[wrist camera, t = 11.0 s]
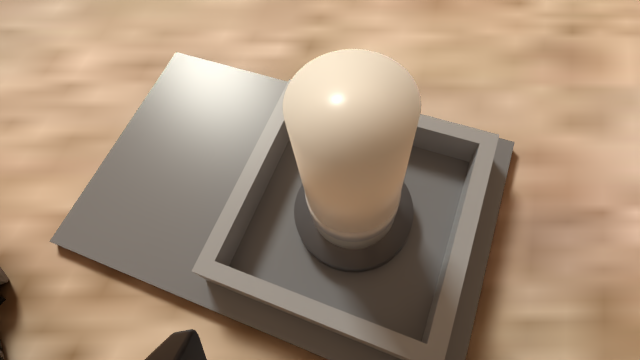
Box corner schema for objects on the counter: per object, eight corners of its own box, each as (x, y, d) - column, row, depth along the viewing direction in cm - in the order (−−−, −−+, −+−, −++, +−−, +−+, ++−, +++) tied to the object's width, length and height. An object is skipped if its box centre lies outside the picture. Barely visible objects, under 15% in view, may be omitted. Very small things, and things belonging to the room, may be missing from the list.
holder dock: (510, 147, 23) (528, 122, 21) (450, 411, 18) (465, 417, 15) (179, 58, 28) (163, 29, 26) (57, 244, 23) (22, 230, 20)
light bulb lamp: (424, 183, 22) (472, 51, 13) (391, 290, 20) (421, 221, 11) (320, 152, 23) (298, 12, 14) (278, 248, 21) (220, 156, 12)
